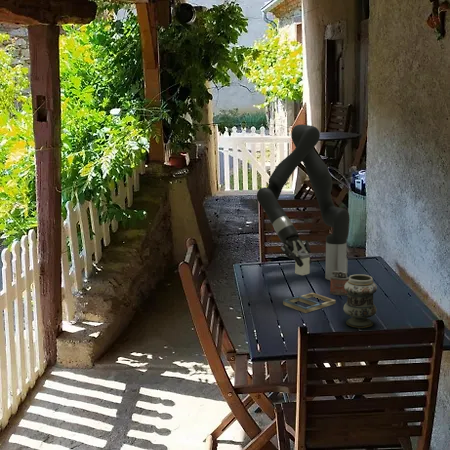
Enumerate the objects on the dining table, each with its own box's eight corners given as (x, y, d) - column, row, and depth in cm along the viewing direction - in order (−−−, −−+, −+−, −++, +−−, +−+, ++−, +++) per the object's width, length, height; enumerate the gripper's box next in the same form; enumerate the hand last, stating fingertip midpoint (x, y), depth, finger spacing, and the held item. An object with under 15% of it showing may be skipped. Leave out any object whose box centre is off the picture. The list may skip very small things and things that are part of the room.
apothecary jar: (371, 316, 241) (372, 272, 238) (379, 328, 230) (381, 281, 226) (339, 317, 241) (341, 272, 237) (347, 329, 229) (348, 282, 225)
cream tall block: (302, 271, 254) (302, 252, 252) (309, 273, 251) (309, 254, 249) (295, 273, 252) (295, 253, 250) (302, 275, 249) (302, 255, 247)
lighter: (349, 293, 269) (349, 271, 267) (348, 295, 266) (348, 273, 264) (330, 291, 272) (330, 269, 269) (329, 294, 268) (329, 271, 266)
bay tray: (312, 295, 267) (312, 291, 266) (335, 303, 257) (335, 299, 256) (283, 304, 257) (283, 300, 256) (305, 313, 247) (305, 308, 246)
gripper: (276, 227, 249) (297, 263, 242) (302, 221, 257) (323, 256, 250) (267, 237, 254) (288, 273, 247) (293, 232, 263) (313, 266, 256)
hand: (305, 264), depth 249 cm, fingers closed on cream tall block, 4 cm apart
